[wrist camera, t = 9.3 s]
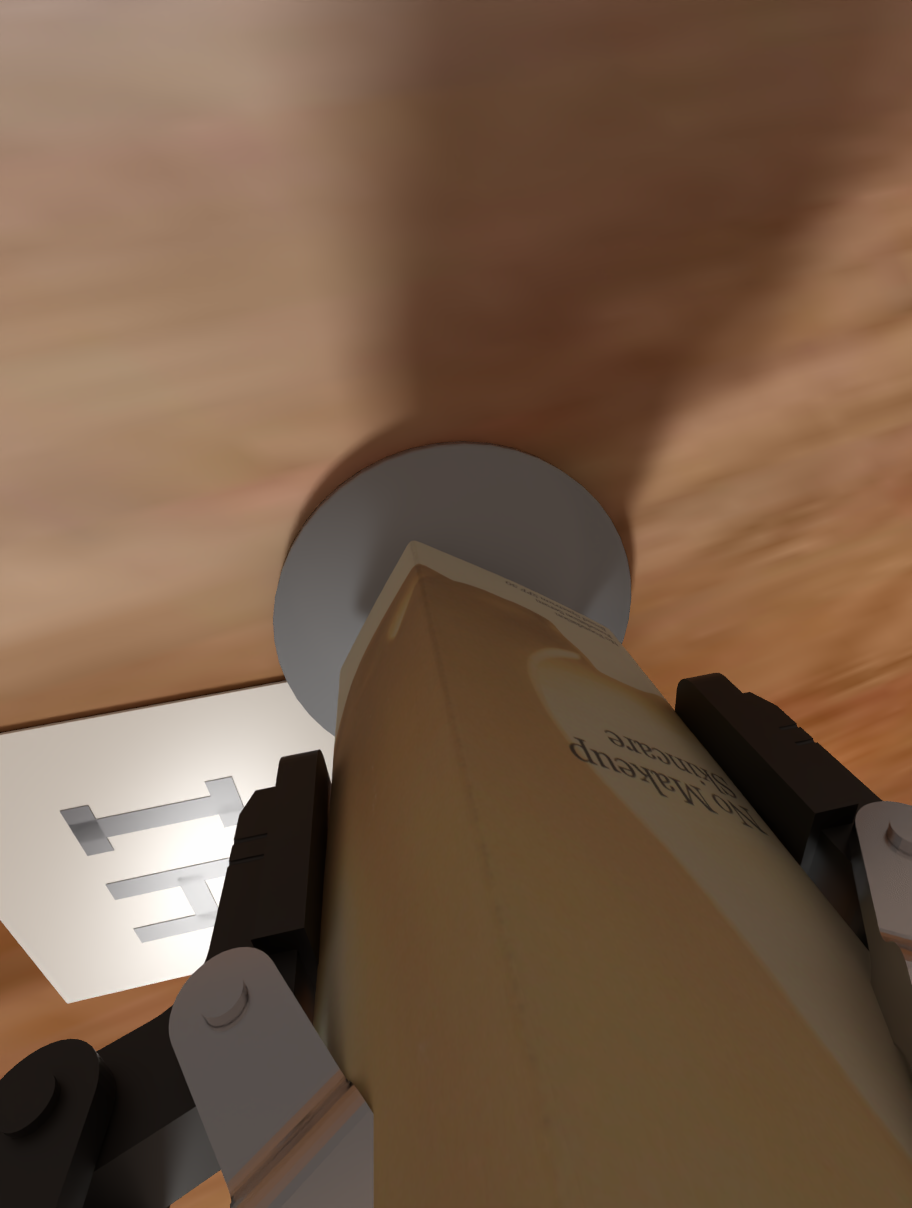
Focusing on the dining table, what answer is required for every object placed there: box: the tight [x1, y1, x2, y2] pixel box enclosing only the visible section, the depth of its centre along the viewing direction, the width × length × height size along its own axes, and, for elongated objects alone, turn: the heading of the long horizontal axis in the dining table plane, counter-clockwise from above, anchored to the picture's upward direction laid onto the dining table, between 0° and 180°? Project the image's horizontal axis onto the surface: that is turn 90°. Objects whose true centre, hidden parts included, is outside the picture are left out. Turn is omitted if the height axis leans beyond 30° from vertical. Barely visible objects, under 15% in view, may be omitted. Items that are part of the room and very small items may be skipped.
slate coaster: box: [273, 441, 631, 736], centre depth 16 cm, size 10×10×1 cm
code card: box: [0, 681, 335, 1003], centre depth 18 cm, size 12×12×1 cm
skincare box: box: [313, 541, 912, 1208], centre depth 9 cm, size 6×4×12 cm
